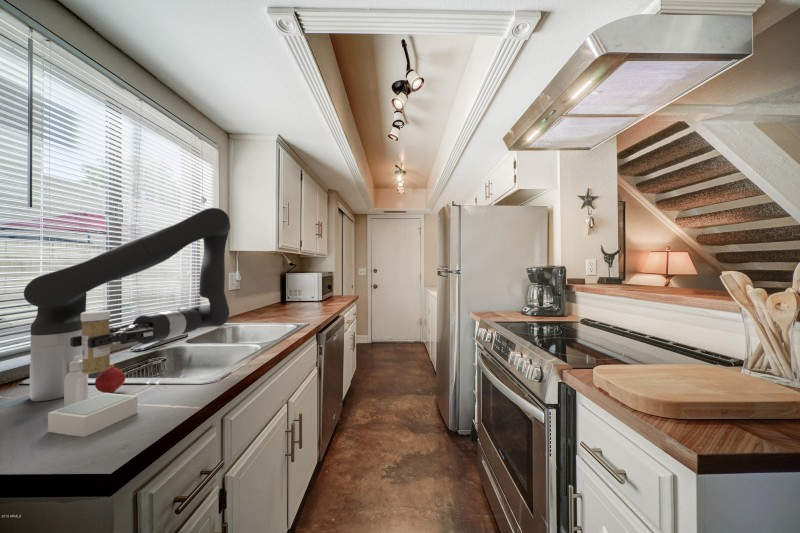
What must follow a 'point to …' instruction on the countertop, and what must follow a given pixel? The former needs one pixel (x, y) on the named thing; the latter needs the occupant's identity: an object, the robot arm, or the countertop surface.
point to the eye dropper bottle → (75, 383)
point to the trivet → (92, 414)
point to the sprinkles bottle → (92, 327)
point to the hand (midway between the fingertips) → (80, 342)
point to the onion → (109, 380)
